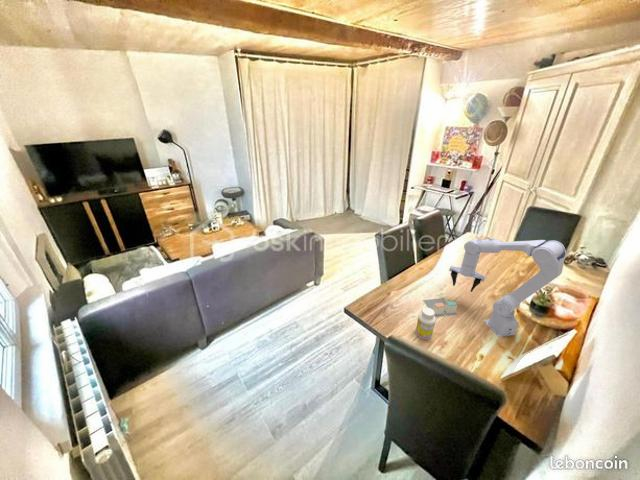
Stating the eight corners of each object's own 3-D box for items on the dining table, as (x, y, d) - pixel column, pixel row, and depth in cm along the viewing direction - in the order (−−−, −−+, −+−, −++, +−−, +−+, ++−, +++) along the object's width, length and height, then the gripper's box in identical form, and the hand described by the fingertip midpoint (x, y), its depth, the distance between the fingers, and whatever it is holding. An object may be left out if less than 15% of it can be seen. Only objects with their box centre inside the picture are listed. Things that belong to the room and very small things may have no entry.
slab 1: (443, 314, 116) (445, 306, 113) (435, 315, 115) (437, 306, 113) (440, 310, 118) (442, 302, 115) (432, 311, 117) (434, 303, 115)
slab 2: (454, 312, 116) (457, 304, 114) (447, 313, 116) (449, 305, 114) (451, 309, 118) (454, 301, 116) (444, 310, 118) (446, 302, 116)
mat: (457, 315, 115) (457, 314, 115) (435, 317, 114) (435, 317, 114) (442, 298, 126) (443, 298, 126) (422, 300, 125) (422, 300, 125)
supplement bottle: (418, 325, 110) (423, 303, 105) (433, 332, 106) (439, 310, 101) (413, 335, 106) (417, 312, 100) (428, 342, 102) (434, 319, 96)
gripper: (489, 265, 111) (481, 289, 117) (454, 255, 119) (448, 278, 125) (486, 272, 106) (478, 296, 112) (450, 261, 114) (444, 285, 120)
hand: (462, 287), depth 118 cm, fingers open, 7 cm apart
